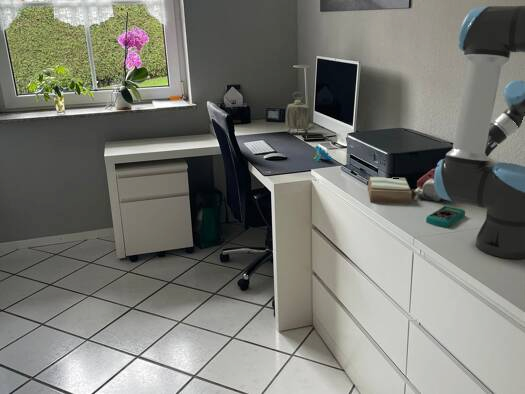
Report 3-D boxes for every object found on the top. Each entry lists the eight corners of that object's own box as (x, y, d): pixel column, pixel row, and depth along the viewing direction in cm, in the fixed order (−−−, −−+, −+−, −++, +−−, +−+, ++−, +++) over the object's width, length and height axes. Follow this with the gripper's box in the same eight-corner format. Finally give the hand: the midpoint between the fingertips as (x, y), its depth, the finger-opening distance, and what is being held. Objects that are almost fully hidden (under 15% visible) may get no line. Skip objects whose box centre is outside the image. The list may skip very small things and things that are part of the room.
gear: (336, 159, 235) (321, 145, 231) (328, 169, 234) (313, 154, 231) (327, 157, 245) (313, 143, 242) (319, 166, 245) (305, 153, 242)
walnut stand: (410, 204, 178) (412, 190, 176) (370, 202, 180) (371, 188, 178) (404, 189, 195) (405, 177, 193) (367, 187, 197) (368, 175, 195)
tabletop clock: (309, 132, 308) (310, 91, 301) (309, 135, 300) (310, 93, 292) (285, 132, 310) (286, 91, 302) (285, 135, 301) (285, 92, 293)
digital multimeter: (424, 224, 160) (425, 215, 159) (443, 212, 171) (444, 204, 170) (447, 229, 156) (448, 221, 155) (465, 217, 166) (466, 209, 165)
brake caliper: (452, 189, 186) (450, 168, 178) (444, 213, 181) (441, 192, 173) (422, 184, 192) (418, 164, 184) (413, 207, 188) (408, 187, 179)
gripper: (521, 144, 165) (469, 187, 171) (493, 130, 189) (448, 168, 195) (507, 128, 164) (455, 172, 170) (481, 116, 188) (436, 155, 194)
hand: (451, 170), depth 182 cm, fingers open, 13 cm apart
